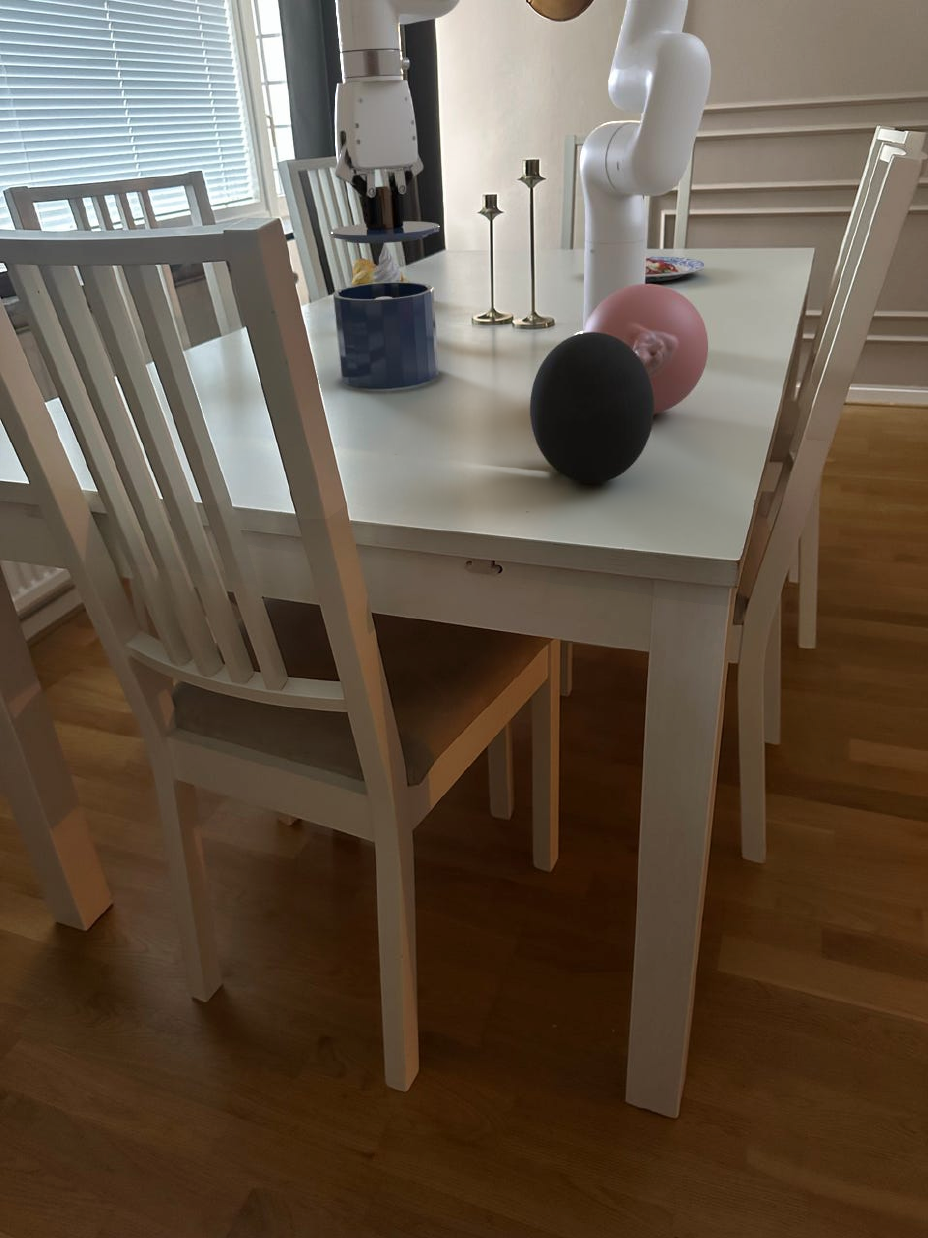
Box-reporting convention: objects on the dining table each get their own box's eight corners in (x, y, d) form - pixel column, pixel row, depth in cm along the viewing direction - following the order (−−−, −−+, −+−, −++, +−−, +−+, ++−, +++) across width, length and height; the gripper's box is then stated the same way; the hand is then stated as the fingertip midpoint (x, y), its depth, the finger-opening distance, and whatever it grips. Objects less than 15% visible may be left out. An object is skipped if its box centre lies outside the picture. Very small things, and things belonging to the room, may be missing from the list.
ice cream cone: (401, 333, 163) (394, 242, 156) (373, 333, 164) (365, 242, 157) (408, 327, 167) (402, 238, 160) (381, 327, 168) (373, 238, 161)
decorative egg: (635, 507, 90) (643, 351, 82) (514, 495, 94) (512, 344, 87) (660, 465, 100) (669, 322, 92) (550, 455, 104) (550, 317, 96)
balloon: (564, 442, 108) (565, 305, 100) (586, 394, 124) (588, 274, 117) (700, 446, 104) (712, 305, 97) (704, 397, 121) (714, 273, 113)
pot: (453, 370, 139) (449, 283, 133) (410, 395, 128) (403, 301, 122) (372, 364, 144) (365, 280, 138) (324, 388, 133) (313, 297, 127)
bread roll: (418, 296, 194) (415, 255, 190) (405, 305, 186) (402, 262, 182) (359, 296, 197) (356, 256, 193) (344, 305, 189) (340, 263, 185)
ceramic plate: (567, 273, 212) (567, 259, 210) (668, 262, 218) (669, 249, 216) (616, 290, 190) (617, 275, 188) (727, 278, 196) (729, 263, 195)
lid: (457, 230, 128) (455, 181, 125) (408, 245, 117) (404, 191, 114) (365, 230, 134) (361, 182, 131) (310, 244, 122) (304, 192, 119)
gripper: (410, 68, 122) (420, 219, 131) (300, 71, 114) (318, 232, 123) (442, 65, 117) (450, 223, 126) (329, 68, 109) (345, 236, 118)
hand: (384, 226), depth 124 cm, fingers closed on lid, 2 cm apart
